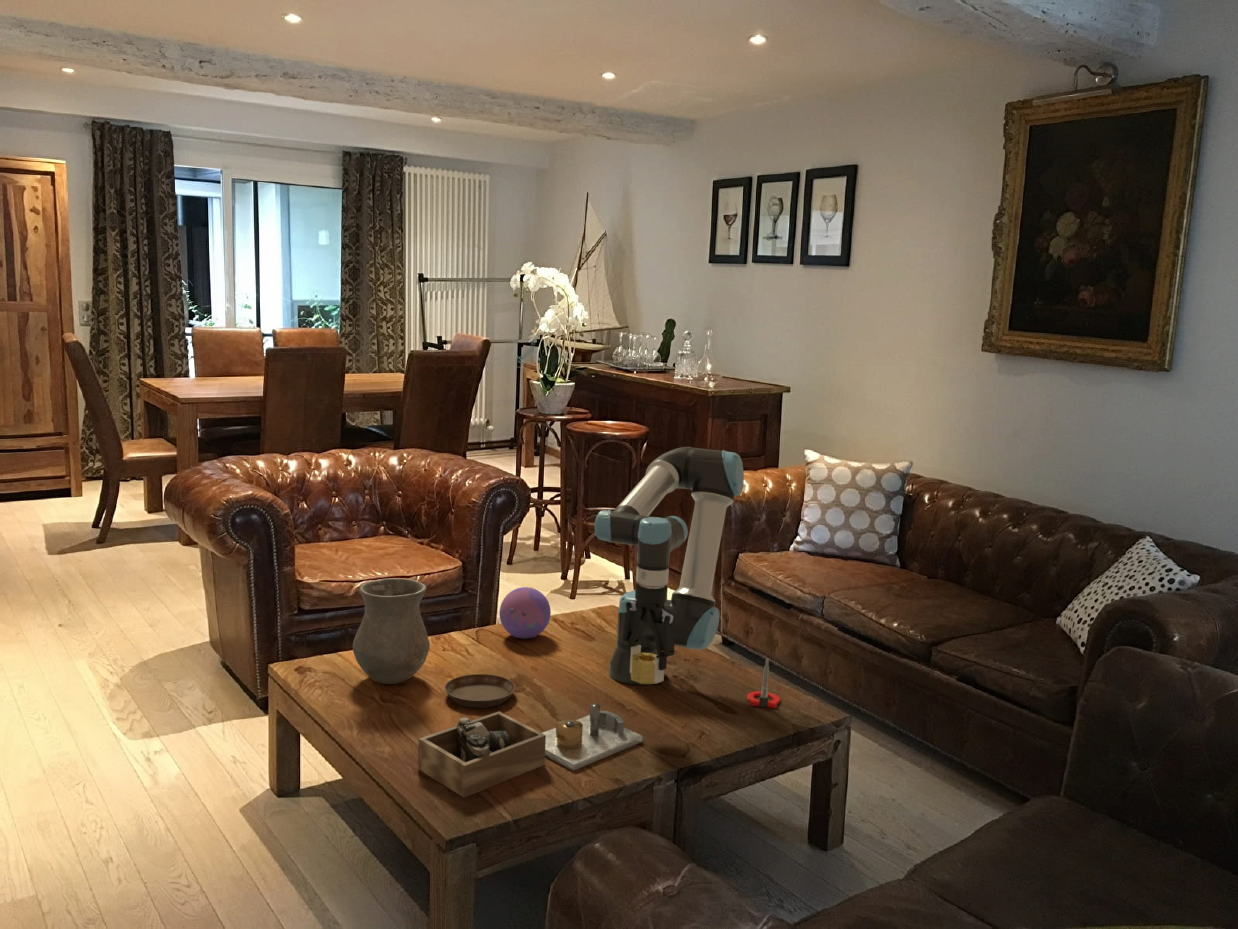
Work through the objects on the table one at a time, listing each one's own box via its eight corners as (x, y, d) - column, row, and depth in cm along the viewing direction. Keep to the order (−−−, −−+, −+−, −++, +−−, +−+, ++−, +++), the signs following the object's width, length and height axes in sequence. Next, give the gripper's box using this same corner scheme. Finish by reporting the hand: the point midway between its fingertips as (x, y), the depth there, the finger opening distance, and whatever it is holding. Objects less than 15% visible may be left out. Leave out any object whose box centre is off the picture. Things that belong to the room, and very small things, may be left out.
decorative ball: (492, 643, 296) (494, 593, 293) (506, 626, 310) (508, 578, 308) (542, 648, 293) (544, 598, 291) (554, 631, 308) (556, 583, 305)
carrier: (525, 745, 232) (526, 710, 231) (594, 719, 248) (595, 686, 247) (573, 770, 222) (574, 734, 220) (642, 741, 237) (644, 707, 236)
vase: (337, 684, 261) (337, 590, 256) (381, 660, 278) (382, 572, 274) (402, 700, 253) (403, 603, 249) (443, 674, 271) (445, 583, 266)
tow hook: (747, 694, 270) (746, 706, 261) (751, 646, 268) (750, 657, 259) (779, 697, 268) (779, 710, 259) (783, 650, 267) (784, 661, 258)
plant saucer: (458, 680, 268) (458, 669, 268) (523, 688, 265) (523, 677, 264) (434, 707, 251) (434, 695, 250) (503, 716, 248) (503, 704, 247)
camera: (519, 777, 215) (520, 732, 214) (472, 786, 211) (472, 740, 210) (496, 748, 230) (496, 706, 228) (451, 756, 225) (451, 712, 224)
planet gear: (624, 677, 242) (626, 657, 241) (644, 670, 247) (646, 650, 246) (646, 686, 238) (647, 665, 237) (666, 679, 243) (667, 659, 242)
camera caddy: (418, 769, 219) (418, 738, 217) (498, 740, 234) (499, 711, 233) (463, 797, 208) (464, 765, 207) (544, 765, 224) (545, 735, 222)
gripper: (610, 576, 242) (605, 668, 247) (673, 597, 229) (667, 694, 233) (631, 571, 248) (626, 660, 252) (694, 591, 234) (688, 685, 238)
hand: (646, 676), depth 243 cm, fingers closed on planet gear, 7 cm apart
